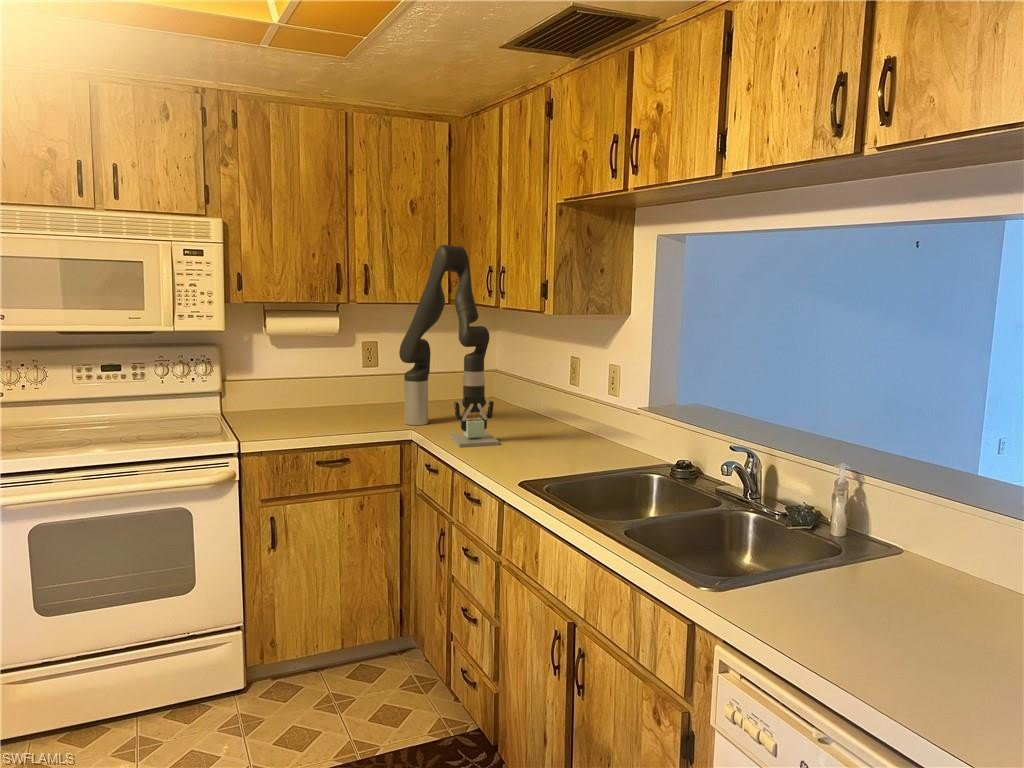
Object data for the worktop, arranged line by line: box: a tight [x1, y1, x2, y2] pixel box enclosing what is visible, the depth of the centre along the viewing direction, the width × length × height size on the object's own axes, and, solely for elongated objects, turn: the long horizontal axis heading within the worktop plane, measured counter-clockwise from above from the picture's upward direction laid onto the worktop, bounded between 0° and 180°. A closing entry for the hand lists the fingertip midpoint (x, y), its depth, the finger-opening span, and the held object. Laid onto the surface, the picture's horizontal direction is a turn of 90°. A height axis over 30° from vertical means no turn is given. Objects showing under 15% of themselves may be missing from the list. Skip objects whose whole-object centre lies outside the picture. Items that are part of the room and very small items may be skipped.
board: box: [449, 417, 500, 448], centre depth 259 cm, size 16×14×8 cm
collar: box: [463, 417, 485, 438], centre depth 259 cm, size 6×6×6 cm
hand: (473, 430), depth 259 cm, fingers open, 6 cm apart
